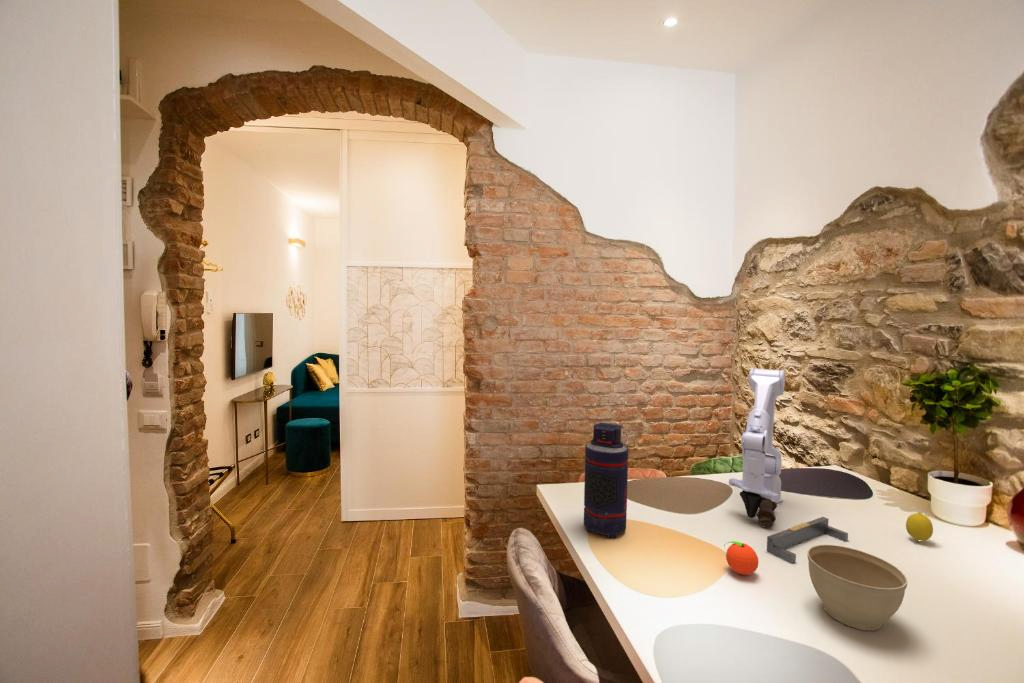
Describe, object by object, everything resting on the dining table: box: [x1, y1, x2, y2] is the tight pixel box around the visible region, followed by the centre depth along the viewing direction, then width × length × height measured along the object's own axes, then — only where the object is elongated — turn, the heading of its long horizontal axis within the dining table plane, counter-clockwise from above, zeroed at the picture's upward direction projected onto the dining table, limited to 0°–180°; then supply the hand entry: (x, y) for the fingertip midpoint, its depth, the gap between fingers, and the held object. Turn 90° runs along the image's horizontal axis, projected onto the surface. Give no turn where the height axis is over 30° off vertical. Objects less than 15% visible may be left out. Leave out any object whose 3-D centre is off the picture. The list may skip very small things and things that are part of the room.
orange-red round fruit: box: [723, 540, 760, 576], centre depth 108 cm, size 8×7×7 cm
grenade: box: [583, 421, 629, 539], centre depth 129 cm, size 14×12×30 cm
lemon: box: [905, 512, 934, 541], centre depth 124 cm, size 6×6×8 cm
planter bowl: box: [806, 544, 908, 631], centre depth 92 cm, size 16×16×11 cm
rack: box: [766, 516, 849, 564], centre depth 121 cm, size 26×6×4 cm, turn 118°
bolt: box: [756, 498, 778, 529], centre depth 136 cm, size 6×5×15 cm
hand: (751, 516), depth 135 cm, fingers closed
